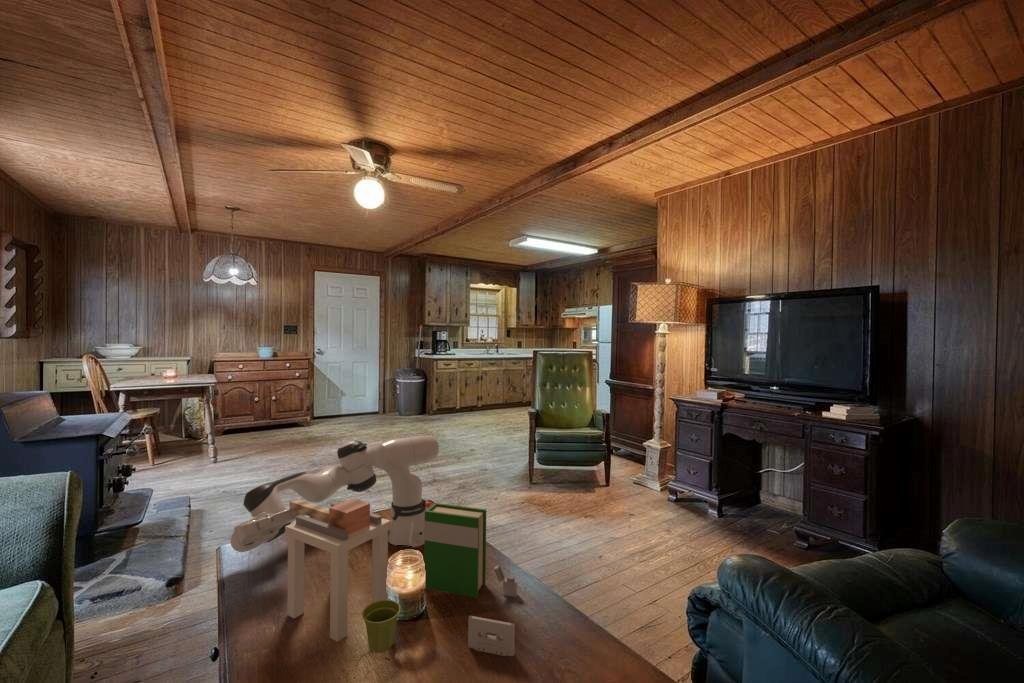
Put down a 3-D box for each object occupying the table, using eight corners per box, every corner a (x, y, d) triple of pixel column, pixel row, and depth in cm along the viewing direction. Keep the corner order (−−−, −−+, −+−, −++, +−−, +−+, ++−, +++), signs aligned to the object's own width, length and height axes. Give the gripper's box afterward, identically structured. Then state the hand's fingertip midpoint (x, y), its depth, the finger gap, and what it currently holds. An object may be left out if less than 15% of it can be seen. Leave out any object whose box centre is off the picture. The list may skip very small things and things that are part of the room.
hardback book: (485, 585, 140) (486, 509, 139) (477, 598, 133) (478, 518, 132) (434, 575, 145) (435, 502, 144) (424, 588, 138) (424, 511, 137)
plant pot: (363, 662, 106) (363, 626, 106) (360, 637, 115) (360, 604, 115) (403, 651, 110) (403, 616, 110) (397, 628, 118) (397, 596, 118)
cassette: (467, 649, 111) (467, 618, 111) (469, 644, 113) (470, 614, 113) (513, 658, 108) (513, 627, 108) (515, 653, 110) (515, 622, 110)
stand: (284, 615, 123) (285, 519, 123) (338, 584, 139) (339, 499, 139) (337, 643, 112) (338, 537, 112) (389, 606, 128) (390, 513, 128)
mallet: (280, 512, 132) (280, 492, 132) (305, 504, 139) (305, 485, 139) (346, 535, 118) (346, 513, 118) (369, 524, 125) (370, 503, 125)
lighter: (517, 594, 135) (517, 568, 135) (515, 597, 133) (516, 571, 133) (495, 590, 137) (495, 564, 137) (493, 593, 135) (493, 567, 135)
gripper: (296, 525, 151) (319, 512, 145) (233, 549, 133) (256, 536, 127) (291, 507, 152) (313, 493, 146) (228, 529, 135) (250, 514, 129)
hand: (286, 513), depth 137 cm, fingers open, 8 cm apart
